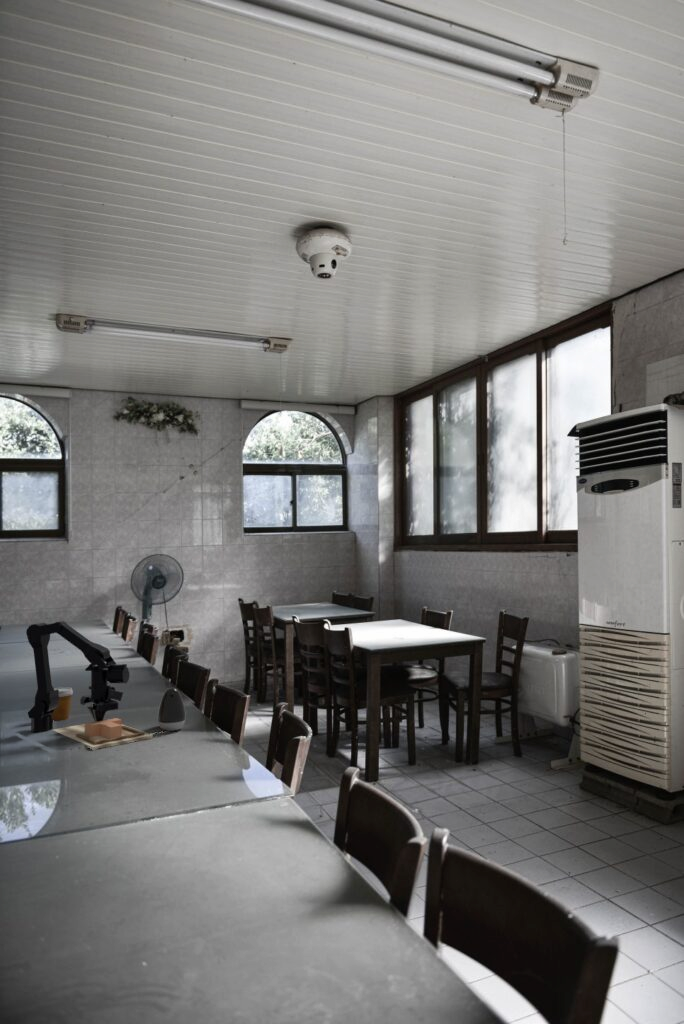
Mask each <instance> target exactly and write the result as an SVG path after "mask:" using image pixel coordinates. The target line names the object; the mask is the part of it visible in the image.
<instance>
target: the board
mask: <svg viewBox="0 0 684 1024" xmlns="http://www.w3.org/2000/svg"><path fill="white" fill-rule="evenodd" d="M85 724H86V723H81V724H76V725H70V726H65V727H60V728H55V729H54V728H53V729H52V731H54V732H56V733H58V734H61V735H63V736H65V737H67V738H70V739H71V740H74V741H77V742H79V743H81V744H84V746H85V747H84V748H86V747H87V748H86V749H88V748H90V749H89V750H91V749H92V750H91V751H94V750H93V749H96V750H100V749H99V748H101V749H106V748H110V746H111V747H114V746H115V745H116V746H120V744H121V745H125V743H126V744H130V742H131V743H135V741H136V742H139V741H144V740H149V739H153V738H154V736H153V734H151V733H149V732H145V731H142V730H139V729H137V728H133V727H130V726H127V725H125V724H123V723H122V736H121V737H116V738H110V739H109V738H107V737H104V736H101V735H98V736H93V737H88V736H85ZM116 746H115V747H116ZM105 747H106V748H105Z"/></svg>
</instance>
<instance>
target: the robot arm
mask: <svg viewBox="0 0 684 1024" xmlns="http://www.w3.org/2000/svg"><path fill="white" fill-rule="evenodd" d="M25 632H26V633H25V634H26V637H27V642H28V643H29V645H30V646H31V648H32V649H33V658H34V667H35V676H36V677H35V678H36V684H37V686H36V687H37V689H36V693H35V696H34V706H32V708H31V709H30V710H28V712H27V716H28V718H29V719H30V731H31V732H32V733H33V734H34V733H35V734H36V733H44V732H49V731H53V729H54V722H53V719H52V715H51V714H52V713H53V712H54V710H55V708H56V707H57V706H58V703H59V700H60V698H59V690H58V689H57V690H54V687H53V683H52V675H51V669H50V668H51V667H50V666H51V665H50V661H49V660H50V658H49V650H48V646H49V643H50V640H51V634H57V635H59V637H62V638H63V639H64V640H66V641H67V642H68V643H70V644H71V645H73V646H74V647H75V648H76V649H78V650H79V651H80V652H81V653H82V654H83V655H84V657H85V659H86V660H87V661H88V662H89V663H90V664H89V665H88V666H87V667H85V668H84V670H85V671H86V672H90V685H89V686H88V690H90V694H87V695H82V696H81V698H80V701H79V702H80V705H82V706H85V705H86V704H89V706H87V710H88V711H89V713H90V715H91V716H92V718H93V722H97V721H103V720H104V718H105V715H106V713H107V712H108V711H114V710H119V708H120V707H119V706H120V705H119V702H121V701H122V698H123V695H124V692H122V691H121V690H120V691H119V690H116V687H114V686H110V684H127V683H128V682H129V679H130V671H129V668H128V666H127V665H128V664H127V663H122V664H121V663H119V664H117V662H116V661H115V659H114V658H113V657H112V656H111V652H110V650H109V648H107V647H106V646H104V645H102V644H99V643H95V642H93V641H92V640H91V641H90V640H89V639H88V638H87V637H85V636H84V635H83V634H81V633H80V632H78V631H77V630H76V629H75V628H73V627H72V626H70V625H69V624H68V623H67V622H66V621H64V620H60V621H56V622H54V623H48V624H47V623H45V622H38V623H35V624H34V623H33V624H31V625H29V626H28V627H27V629H26V631H25ZM108 683H109V684H108ZM116 700H117V701H116ZM118 701H119V702H118Z"/></svg>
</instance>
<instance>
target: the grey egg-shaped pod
mask: <svg viewBox="0 0 684 1024" xmlns="http://www.w3.org/2000/svg"><path fill="white" fill-rule="evenodd" d="M186 719H187V714H186V707H185V703H184V700H183V698H182V694H181V693H180V691H179V690H178V688H175V687H169V688H167V689H166V690H165V691H164V693H163V695H162V696H161V700H160V703H159V707H158V712H157V723H158V725H159V727H160V728H161V729H163V730H164V731H166V732H176V731H179V730H180V729H181V728H182V727H184V725H185V722H186ZM175 730H176V731H175Z"/></svg>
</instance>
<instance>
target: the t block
mask: <svg viewBox="0 0 684 1024" xmlns="http://www.w3.org/2000/svg"><path fill="white" fill-rule="evenodd" d="M122 720H123V719H120V718H118V717H114V718H108V719H103V721H97V722H95V721H93V722H86V723H84V724H85V736H88V737H93V736H98V735H101V736H104V737H107V738H109V739H110V738H116V737H121V736H122V724H123V723H122Z"/></svg>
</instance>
